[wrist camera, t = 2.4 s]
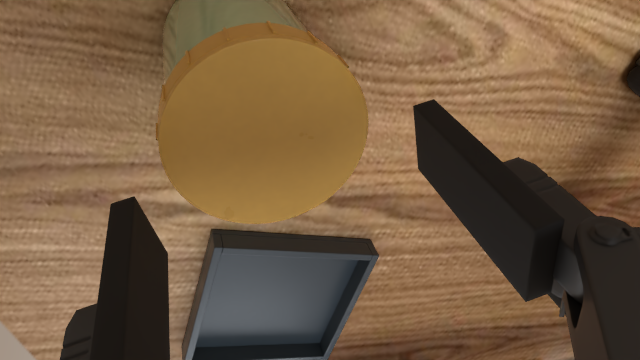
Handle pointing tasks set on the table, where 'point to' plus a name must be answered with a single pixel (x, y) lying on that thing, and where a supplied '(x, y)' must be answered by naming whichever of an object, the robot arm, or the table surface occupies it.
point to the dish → (275, 295)
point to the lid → (260, 123)
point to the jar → (215, 23)
